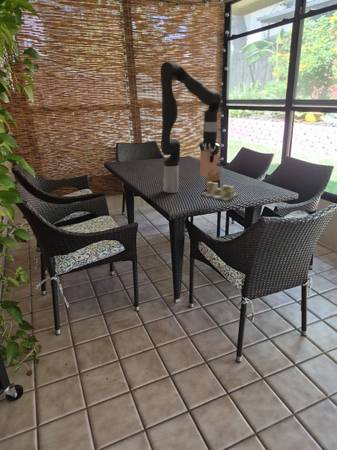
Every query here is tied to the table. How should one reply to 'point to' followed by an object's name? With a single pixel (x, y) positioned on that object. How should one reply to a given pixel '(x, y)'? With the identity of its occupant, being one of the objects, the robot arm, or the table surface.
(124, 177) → the table surface
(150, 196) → the table surface
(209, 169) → the terracotta slotted plate
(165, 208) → the table surface
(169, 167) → the robot arm
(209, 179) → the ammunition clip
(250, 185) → the table surface
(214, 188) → the ash slotted base
